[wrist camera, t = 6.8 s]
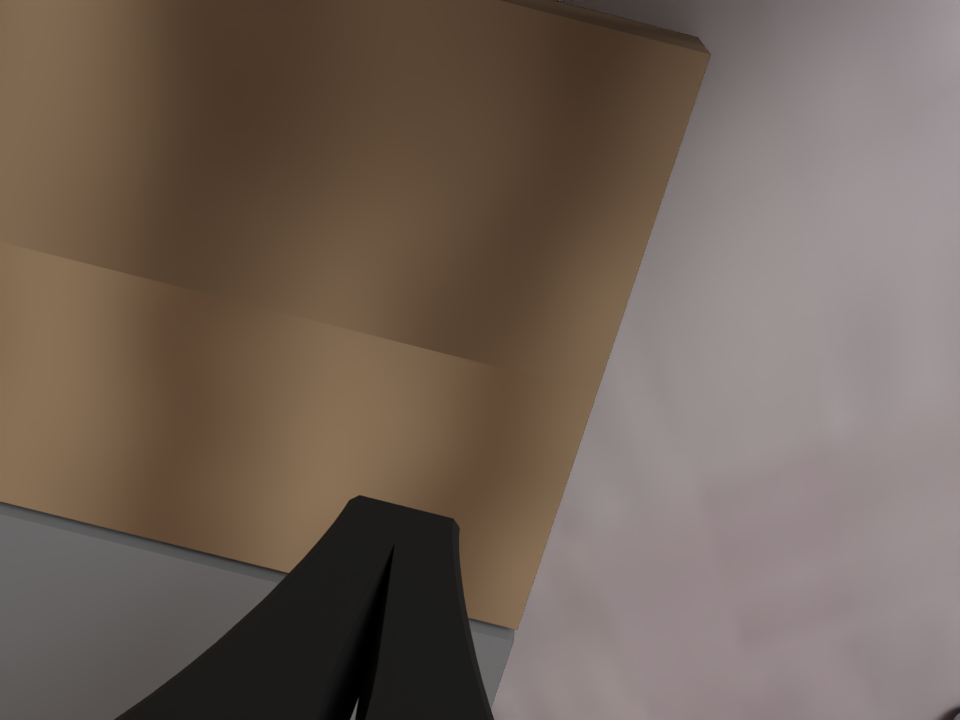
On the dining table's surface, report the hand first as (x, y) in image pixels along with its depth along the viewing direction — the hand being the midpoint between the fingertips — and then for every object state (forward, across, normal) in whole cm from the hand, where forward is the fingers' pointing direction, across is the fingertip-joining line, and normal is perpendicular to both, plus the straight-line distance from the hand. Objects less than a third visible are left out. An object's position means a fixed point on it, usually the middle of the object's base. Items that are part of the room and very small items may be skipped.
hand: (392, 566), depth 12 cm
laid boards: (+9, +5, +1) cm, 11 cm away
